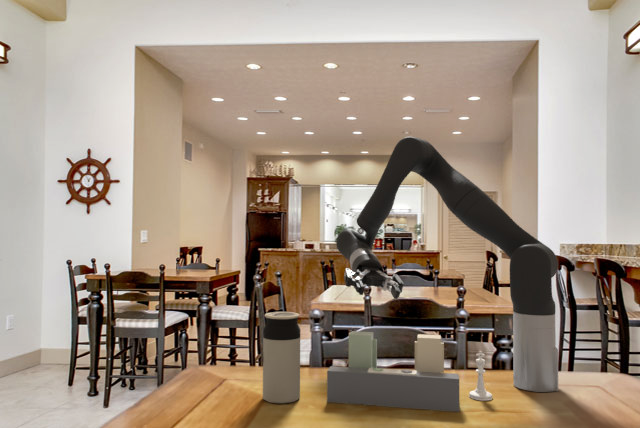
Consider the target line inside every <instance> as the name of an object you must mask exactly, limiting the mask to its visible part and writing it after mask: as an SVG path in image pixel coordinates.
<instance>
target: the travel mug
mask: <svg viewBox="0 0 640 428" xmlns="http://www.w3.org/2000/svg"><path fill="white" fill-rule="evenodd" d="M264 317H265V320H266V323H265V326H264V328H263V331H262V333H263V335H262V340H263V341H262V343H263V344H262V347H263V348H262V349H263V350H262V399H263V400H264V401H266V402H268V403H271V404H279V405H280V404H281V405H283V404H284V405H285V404H290V403H294V402H297V401H298V400H299V399H300V397H301V328H300V326H299V324H298V321H299V318H300V314H299V313H297V312H293V311H273V312H267V313H265V314H264Z"/></svg>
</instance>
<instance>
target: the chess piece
mask: <svg viewBox="0 0 640 428" xmlns="http://www.w3.org/2000/svg"><path fill="white" fill-rule="evenodd" d="M478 351H479V353H476V357H478V358H476V359H475V362H476V363H475V364H476V365H477V368H476V369H475V373H477V374H478V375H477V382H476V388H475V389H474V390H471V391H469V393H468V397H469V398H470V399H471V400H476V401H482V402H483V401H484V402H486V401H492V399H493V394H492V393H491V392H489V391H487V389H486V388H485V381H484V380H485V379H484V374H485V373H486V369H484V366H485V364H486V360H485V359H483V358H482V357H486V355H485V353H482V350H478Z"/></svg>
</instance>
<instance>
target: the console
mask: <svg viewBox="0 0 640 428" xmlns="http://www.w3.org/2000/svg"><path fill="white" fill-rule="evenodd" d="M326 374H327V375H326V402H327V403H337V404H349V405H361V404H363V406H374V405H376V407H377V406H379V407H389V408H390V407H392V408H401V409H402V408H405V409H414V410H415V409H416V410H428V411H429V410H430V411H443V412H444V411H445V412H454V413H455V412H458V413H460V376H459V373H451V372H450V373H449V372H447V373H446V372H444V373H435V372H419V371H416V370H415V369H414V370H412V369H405V368H404V369H400V368H398V369H395V368H382V367H377V368H353V367H348V366H334V365H331V366H329V368H328V369H327V370H326Z"/></svg>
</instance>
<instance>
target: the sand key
mask: <svg viewBox="0 0 640 428" xmlns="http://www.w3.org/2000/svg"><path fill="white" fill-rule="evenodd" d="M414 370H416V371H419V372H435V373H445V343H444V341H443V342H442V336H441V334H423V333H422V334H421V333H419V334H417V340H415V341H414Z"/></svg>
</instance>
